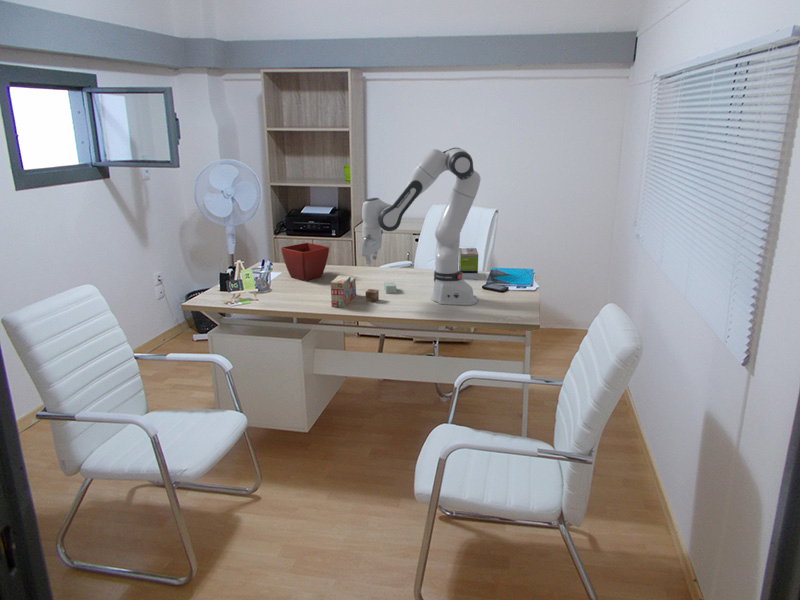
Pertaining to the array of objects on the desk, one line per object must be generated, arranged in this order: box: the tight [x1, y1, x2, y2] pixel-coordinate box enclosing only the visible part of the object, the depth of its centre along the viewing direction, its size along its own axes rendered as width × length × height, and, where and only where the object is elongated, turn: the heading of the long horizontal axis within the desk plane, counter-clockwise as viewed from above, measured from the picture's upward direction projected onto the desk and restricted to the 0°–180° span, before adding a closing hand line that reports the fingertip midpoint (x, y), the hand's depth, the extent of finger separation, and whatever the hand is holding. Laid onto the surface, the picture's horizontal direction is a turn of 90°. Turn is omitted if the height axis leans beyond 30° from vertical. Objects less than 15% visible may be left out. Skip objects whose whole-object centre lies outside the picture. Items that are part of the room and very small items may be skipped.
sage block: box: [383, 281, 397, 294], centre depth 301 cm, size 5×8×4 cm, turn 9°
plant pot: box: [280, 242, 330, 281], centre depth 324 cm, size 19×19×17 cm
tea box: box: [458, 247, 479, 280], centre depth 328 cm, size 15×10×15 cm, turn 178°
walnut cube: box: [365, 288, 380, 303], centre depth 285 cm, size 5×5×5 cm
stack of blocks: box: [330, 275, 357, 309], centre depth 284 cm, size 21×6×12 cm, turn 169°
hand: (371, 261), depth 280 cm, fingers open, 8 cm apart
